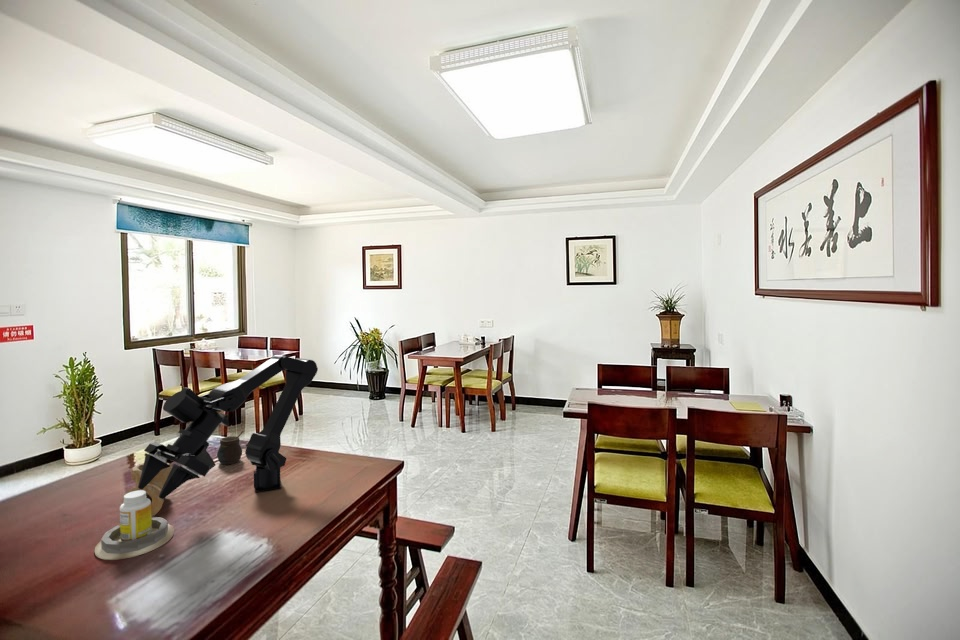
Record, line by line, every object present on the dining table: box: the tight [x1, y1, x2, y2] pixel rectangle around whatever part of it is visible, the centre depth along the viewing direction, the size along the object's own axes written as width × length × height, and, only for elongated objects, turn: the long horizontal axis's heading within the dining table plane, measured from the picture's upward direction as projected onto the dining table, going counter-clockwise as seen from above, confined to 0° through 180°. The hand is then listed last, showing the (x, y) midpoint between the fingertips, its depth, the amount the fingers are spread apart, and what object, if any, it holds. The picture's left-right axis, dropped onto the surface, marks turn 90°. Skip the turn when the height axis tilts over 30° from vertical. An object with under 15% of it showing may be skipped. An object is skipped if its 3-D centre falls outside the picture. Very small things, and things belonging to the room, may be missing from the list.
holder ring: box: [94, 516, 175, 561], centre depth 100 cm, size 14×14×3 cm
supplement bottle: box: [118, 490, 152, 541], centre depth 99 cm, size 6×6×10 cm
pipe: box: [121, 462, 173, 517], centre depth 115 cm, size 9×16×10 cm, turn 25°
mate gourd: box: [216, 430, 244, 466], centre depth 146 cm, size 7×8×10 cm
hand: (150, 493), depth 102 cm, fingers open, 9 cm apart
